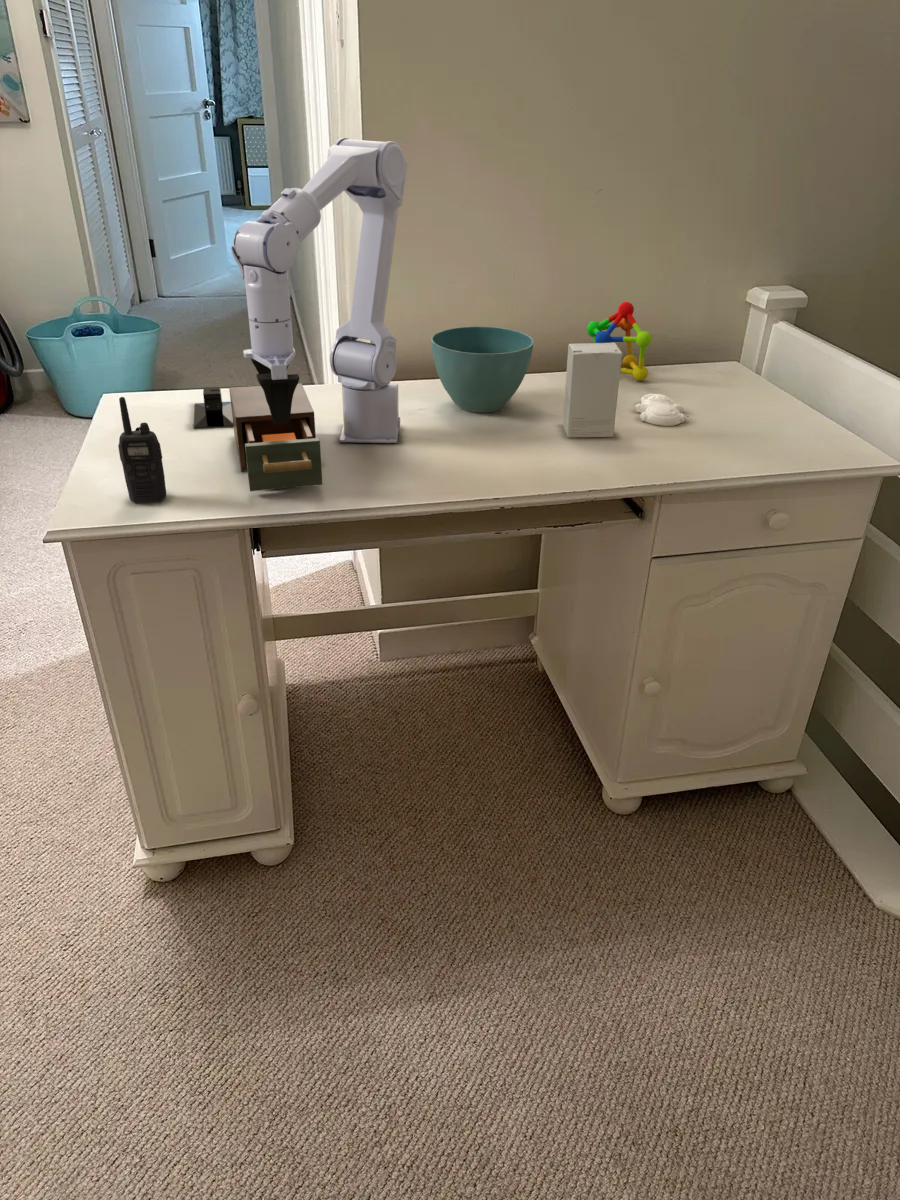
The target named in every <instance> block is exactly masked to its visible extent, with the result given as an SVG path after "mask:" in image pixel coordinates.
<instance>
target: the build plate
mask: <svg viewBox="0 0 900 1200" xmlns="http://www.w3.org/2000/svg"><path fill="white" fill-rule="evenodd" d="M221 390H222V389H221V386H212V387H203V390H202V395H203V402H199V403H198V402H197V403H194V410H193V411H194V412H193V415H194V416H193V423H192V424H191V428H192V429H193V430H206V429H207V430H208V429H222V428H223V429H224V428H225V429H226V428H234V426H233V417H232V409H231V401H223V397H222V391H221Z"/></svg>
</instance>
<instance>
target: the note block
mask: <svg viewBox="0 0 900 1200" xmlns="http://www.w3.org/2000/svg"><path fill="white" fill-rule="evenodd" d="M286 440H297V439H296V436H295V434H294V433H283V434H270V435H262V442H273V441H286Z"/></svg>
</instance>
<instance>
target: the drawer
mask: <svg viewBox="0 0 900 1200" xmlns="http://www.w3.org/2000/svg"><path fill="white" fill-rule="evenodd" d="M244 427H245V437H246V444H245V452H246V461H247V470H248V471H247V477H248V478H247V479H248V488H249V492H257V491H258V492H259V491H270V490H280V489H291V488H302V487H313V486H322V485H323V469H322V468H323V467H322V452H321V451H322V450H321V439H320V437H316V438H313V436H312V434H311V431H310V429H309V426H308V424H307V421H306V419H305V418H292V419H290V420H289V423H286V424H274V422H273V420H265V421H251V422H244ZM283 433H294V434H295V436H296V439H297V440H286V441H273V442H262V435H270V434H283Z"/></svg>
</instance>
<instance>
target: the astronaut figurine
mask: <svg viewBox="0 0 900 1200" xmlns="http://www.w3.org/2000/svg"><path fill="white" fill-rule="evenodd" d="M634 409H635V412H636V413H639V414H640V415H639V416H640V418H639V419H640V421H642V422H644V423H645V422H646V423H649V424H651V425H656V426H663V427H671V426H672V427H673V426H678V425H679V424H683V423H684V422H685V421H686V415H685V414H684V413H683V411H684V407H683V406H682V405H681V404H679V403H674V402H673V400H672V399H671V398H670V397H669V396H667V395H665V394H662V393H648V394H645V395H643V396H642V397H641V399H640V402H639V403H637V404H635V406H634Z"/></svg>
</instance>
